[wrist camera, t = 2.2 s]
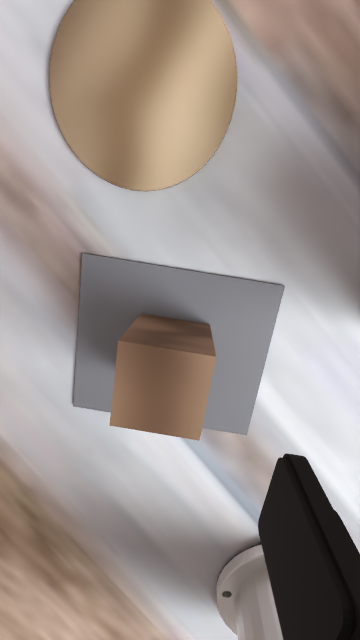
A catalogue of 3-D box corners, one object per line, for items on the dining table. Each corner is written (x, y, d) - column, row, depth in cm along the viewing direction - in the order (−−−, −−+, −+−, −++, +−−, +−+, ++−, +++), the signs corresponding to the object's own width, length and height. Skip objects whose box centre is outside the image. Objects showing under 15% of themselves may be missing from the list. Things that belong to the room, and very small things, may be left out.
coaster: (254, -12, 15) (256, -19, 15) (216, 203, 18) (217, 202, 17) (56, -42, 15) (52, -50, 15) (50, 177, 18) (46, 175, 18)
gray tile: (283, 285, 19) (284, 286, 19) (246, 433, 22) (246, 435, 22) (83, 253, 19) (81, 253, 19) (74, 404, 22) (72, 406, 22)
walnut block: (209, 324, 20) (216, 356, 14) (198, 387, 21) (199, 440, 15) (140, 313, 20) (118, 340, 14) (133, 376, 21) (109, 425, 15)
